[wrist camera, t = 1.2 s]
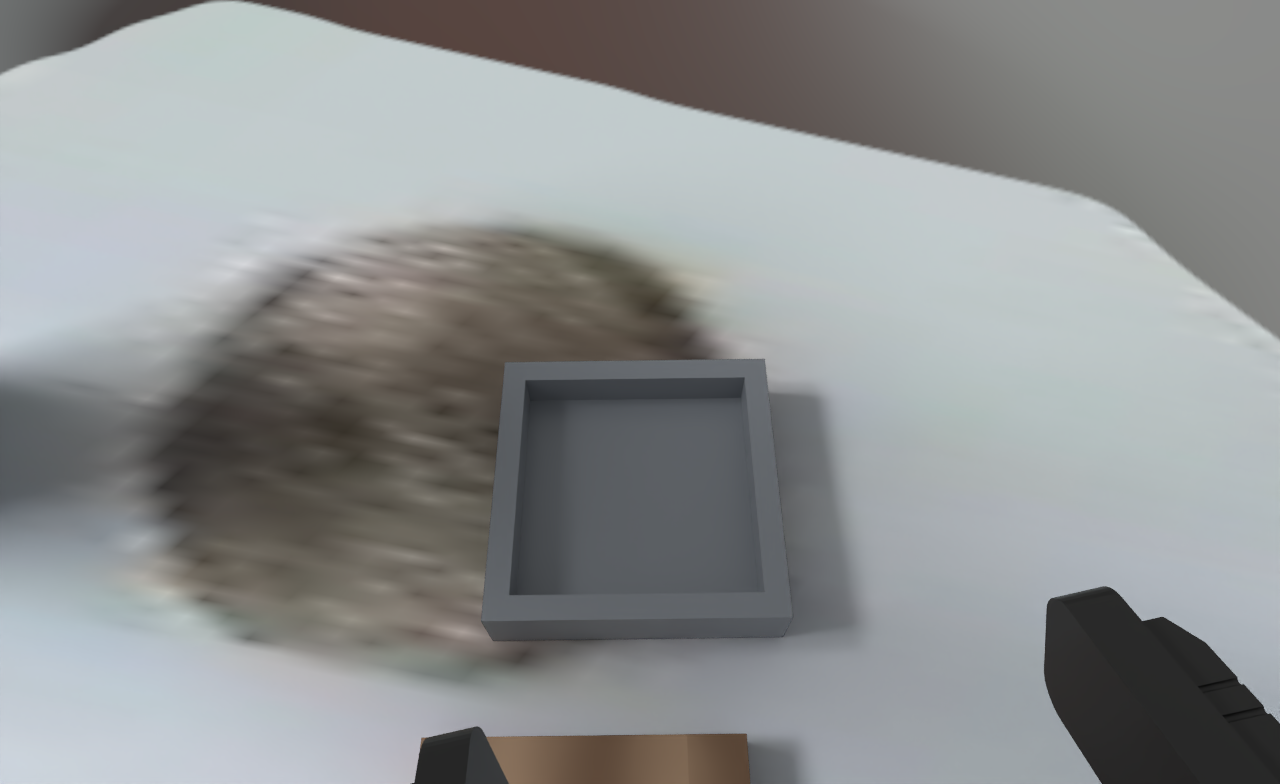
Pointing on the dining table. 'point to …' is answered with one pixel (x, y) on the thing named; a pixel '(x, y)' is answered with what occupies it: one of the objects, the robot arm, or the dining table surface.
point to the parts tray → (636, 503)
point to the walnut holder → (623, 759)
